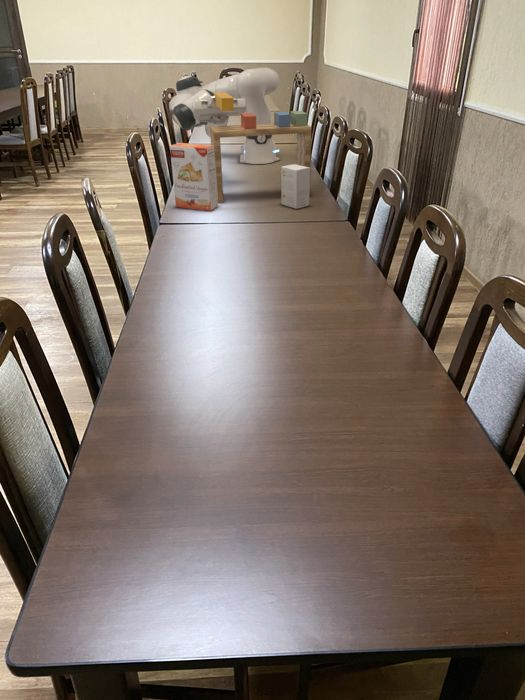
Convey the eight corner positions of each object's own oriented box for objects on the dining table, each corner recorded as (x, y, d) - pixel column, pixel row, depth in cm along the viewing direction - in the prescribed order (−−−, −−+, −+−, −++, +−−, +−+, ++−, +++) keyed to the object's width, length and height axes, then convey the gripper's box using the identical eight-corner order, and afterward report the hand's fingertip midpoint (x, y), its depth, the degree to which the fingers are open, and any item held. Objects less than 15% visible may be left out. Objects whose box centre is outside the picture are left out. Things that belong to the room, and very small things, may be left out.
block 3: (290, 123, 194) (290, 111, 192) (301, 122, 194) (301, 110, 192) (295, 126, 187) (296, 114, 185) (307, 126, 188) (307, 113, 186)
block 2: (274, 124, 193) (274, 112, 191) (285, 123, 193) (285, 111, 191) (279, 127, 186) (279, 114, 184) (290, 126, 187) (290, 114, 185)
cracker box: (175, 208, 188) (168, 145, 177) (183, 203, 193) (177, 142, 182) (210, 211, 184) (206, 147, 173) (218, 207, 188) (214, 144, 178)
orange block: (214, 104, 197) (213, 92, 195) (225, 104, 198) (224, 92, 196) (222, 111, 180) (221, 98, 178) (233, 110, 181) (233, 97, 179)
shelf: (214, 194, 203) (209, 126, 191) (301, 188, 208) (302, 121, 196) (218, 202, 193) (213, 131, 181) (309, 196, 198) (311, 126, 186)
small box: (309, 205, 188) (310, 167, 181) (296, 209, 184) (296, 170, 178) (294, 201, 193) (294, 163, 186) (280, 204, 190) (280, 166, 183)
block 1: (241, 125, 191) (240, 113, 189) (252, 125, 191) (251, 113, 189) (245, 129, 184) (244, 116, 182) (256, 128, 185) (256, 116, 183)
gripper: (245, 121, 208) (250, 105, 195) (192, 124, 205) (194, 108, 191) (243, 105, 208) (248, 88, 195) (190, 107, 205) (191, 90, 191)
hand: (220, 98), depth 193 cm, fingers closed on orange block, 4 cm apart
